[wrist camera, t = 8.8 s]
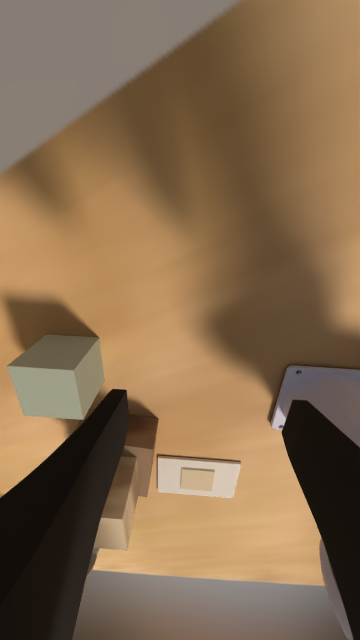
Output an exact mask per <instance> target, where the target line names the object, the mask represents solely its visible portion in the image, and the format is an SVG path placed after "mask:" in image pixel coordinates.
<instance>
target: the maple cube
mask: <svg viewBox="0 0 360 640" xmlns="http://www.w3.org/2000/svg"><path fill="white" fill-rule="evenodd" d="M139 488H140V487H139V475H138V463H137V457H125V456H121V458H120V461H119V464H118V467H117V470H116V473H115V476H114V479H113V482H112V485H111V488H110V491H109V494H108V497H107V500H106V503H105V506H104V509H103V513H102V516H101V520H100V523H99V527H98V531H97V535H96V539H95V543H94V547H93V548H105V549H116V550H127V548H128V543H129V538H130V533H131V528H132V523H133V518H134V513H135V508H136V503H137V498H138V493H139Z"/></svg>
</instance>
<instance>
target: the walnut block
mask: <svg viewBox="0 0 360 640" xmlns="http://www.w3.org/2000/svg"><path fill="white" fill-rule="evenodd" d="M94 410H95V409H89V410H88V412H87V414H86V416H85V418H84V419H83V420H80V421H79V423H78V425H77V426H76V428H75V430H76V429H77V428H78V427H79V426H80V425H81V424H82V423H83V422H84V421H85V420H86V418H87V417H88V416H89V415H90V414H91V413H92V412H93V411H94ZM157 426H158V418H151V417H144V416H137V415H130V414H129V427H128V431H127V436H126V440H125V445H124V449H123V452H122V455H121V456H125V457H137V463H138V475H139V487H140V488H139V493H138V496H143V497H147V494H148V488H149V482H150V476H151V470H152V464H153V456H154V449H155V441H156V434H157ZM75 430H74V431H75Z"/></svg>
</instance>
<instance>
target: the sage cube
mask: <svg viewBox="0 0 360 640" xmlns="http://www.w3.org/2000/svg"><path fill="white" fill-rule="evenodd" d="M7 368H8V371H9V374H10V376H11V379H12V382H13V385H14V388H15V391H16V394H17V397H18V400H19V403H20V405H21V408H22V411H23V414H24V416H38V417H51V418H65V419H79V420H83V419H84V418H85V416H86V414H87V412H88V410H89V408H90V407H91V405H92V403H93V401H94V399H95V397H96V395H97V394H98V392H99V390H100V388H101V386H102V384H103V383H104V381H105V379H104V371H103V363H102V355H101V347H100V339H99V337H83V336H67V335H51V334H46V335H45V336H44V337H42V338H41V339H40V340H39V341H37V342H36V343H35V344H34V345H32V346H31V347H30V348H29V349H27V350H26V351H25V352H24V353H22V354H21V355H20V356H19V357H17V358H16V359H15V360H14V361H12V362H11V363H10V364H9V365H7Z"/></svg>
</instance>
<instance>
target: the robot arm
mask: <svg viewBox="0 0 360 640" xmlns="http://www.w3.org/2000/svg"><path fill="white" fill-rule="evenodd" d="M298 370H300V371H299V372H296V371H298ZM270 425H271V427H272V428H273V429H276V430H282V436H283V439H284V443H285V447H286V450H287V453H288V456H289V459H290V462H291V464H292V467H293V469H294V472H295V474H296V476H297V479H298V481H299V484H300V486H301V488H302V491H303V493H304V495H305V498H306V500H307V503H308V505H309V507H310V510H311V512H312V514H313V517H314V519H315V522H316V524H317V527H318V529H319V532H320V535H321V537H322V538H321V540H320V546H319V550H320V561H321V570H322V575H323V580H324V583H325V587H326V590H327V593H328V596H329V599H330V601H331V604H332V607H333V609H334V611H335V613H336V616H337V618H338V620H339V622H340V625H341V626H342V629H343V631H344V633H345V635H346V636H347V638H348V640H360V370H356V369H341V368H325V367H310V366H294V365H292V366H289V367H288V368H287V369H286V372H285V375H284V379H283V382H282V386H281V389H280V393H279V396H278V399H277V403H276V406H275V410H274V413H273V416H272V420H271V423H270ZM128 427H129V414H128V402H127V390H121V389H112V390H111V391H110V392H109V393H108V394H107V396H106V397H105V398H104V399H103V400H102V402H101V403H100V404H99V405H98V406H97V407H96V408H95V410H94V411H93V412H92V413H91V414H90V415H89V416H88V417H87V418H86V420H85V421H84V422H83V423H82V424H81V425H80V426H79V427H78V428H77V429H76V430H75V431H74V432H73V433H72V434H71V435H70V436H69V437H68V438H67V439H66V440H65V441H64V442H63V443H62V444H61V445H60V446H59V447H58V448H57V449H56V450H55V451H54V452H53V453H52V454H51V455H50V456H49V457H48V458H47V459H46V460H45V461H44V462H42V463H41V464H40V465H39V466H38V467H37V468H36V469H35V470H33V471H32V472H31V473H30V474H29V475H28V476H27V477H25V478H24V479H23V480H22V481H21V482H19V483H18V484H17V485H16V486H14V487H13V488H12V489H11V490H10V491H8V492H7V493H6V494H5V495H4V496H2V497H1V498H0V640H72V637H73V632H74V628H75V624H76V619H77V615H78V611H79V606H80V601H81V597H82V593H83V589H84V585H85V580H86V576H87V572H88V568H89V564H90V559H91V555H92V551H93V547H94V543H95V539H96V535H97V531H98V527H99V523H100V520H101V516H102V513H103V509H104V506H105V503H106V500H107V497H108V494H109V491H110V488H111V485H112V482H113V479H114V476H115V473H116V470H117V467H118V464H119V461H120V458H121V455H122V452H123V449H124V445H125V440H126V436H127V431H128Z"/></svg>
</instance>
